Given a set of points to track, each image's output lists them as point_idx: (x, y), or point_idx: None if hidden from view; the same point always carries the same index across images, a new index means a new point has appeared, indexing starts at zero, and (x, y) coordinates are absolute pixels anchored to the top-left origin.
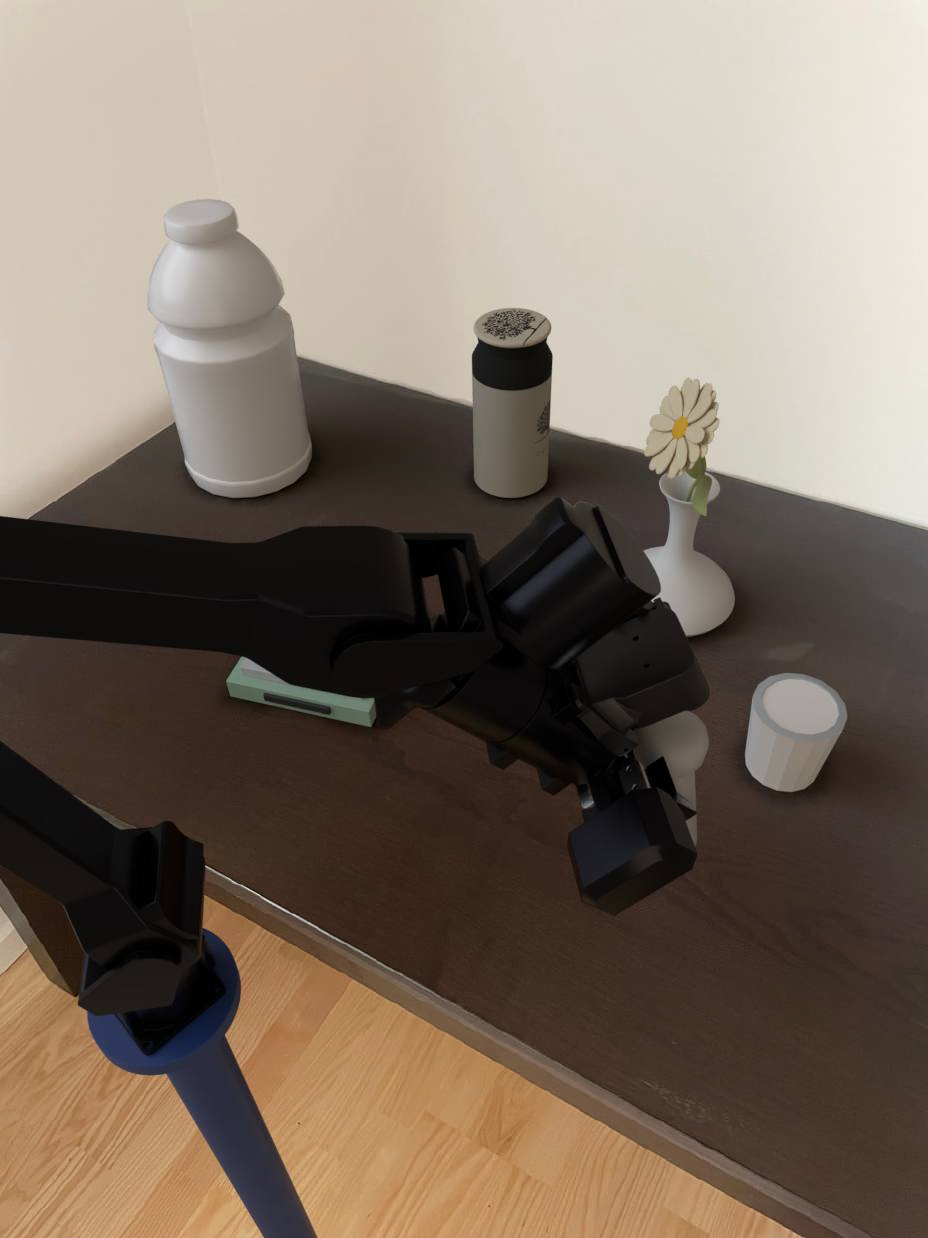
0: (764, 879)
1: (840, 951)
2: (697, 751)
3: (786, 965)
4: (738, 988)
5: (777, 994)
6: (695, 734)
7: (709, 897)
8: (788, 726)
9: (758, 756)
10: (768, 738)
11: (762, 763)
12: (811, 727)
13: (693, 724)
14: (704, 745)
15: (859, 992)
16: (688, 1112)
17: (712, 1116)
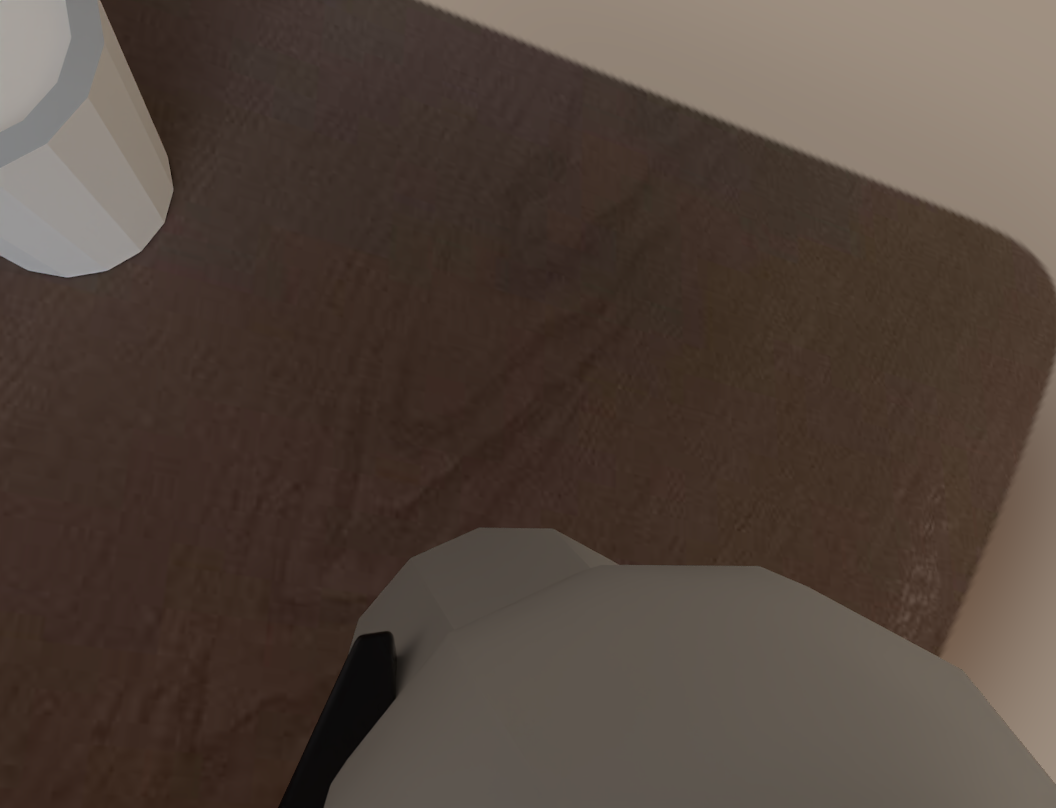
0: (420, 321)
1: (598, 215)
2: (1028, 764)
3: (628, 331)
4: (679, 444)
5: (690, 367)
6: (875, 781)
7: (461, 460)
8: (20, 98)
9: (74, 234)
10: (44, 180)
11: (96, 231)
12: (37, 30)
13: (742, 794)
14: (917, 658)
15: (683, 208)
16: (925, 599)
17: (928, 553)
